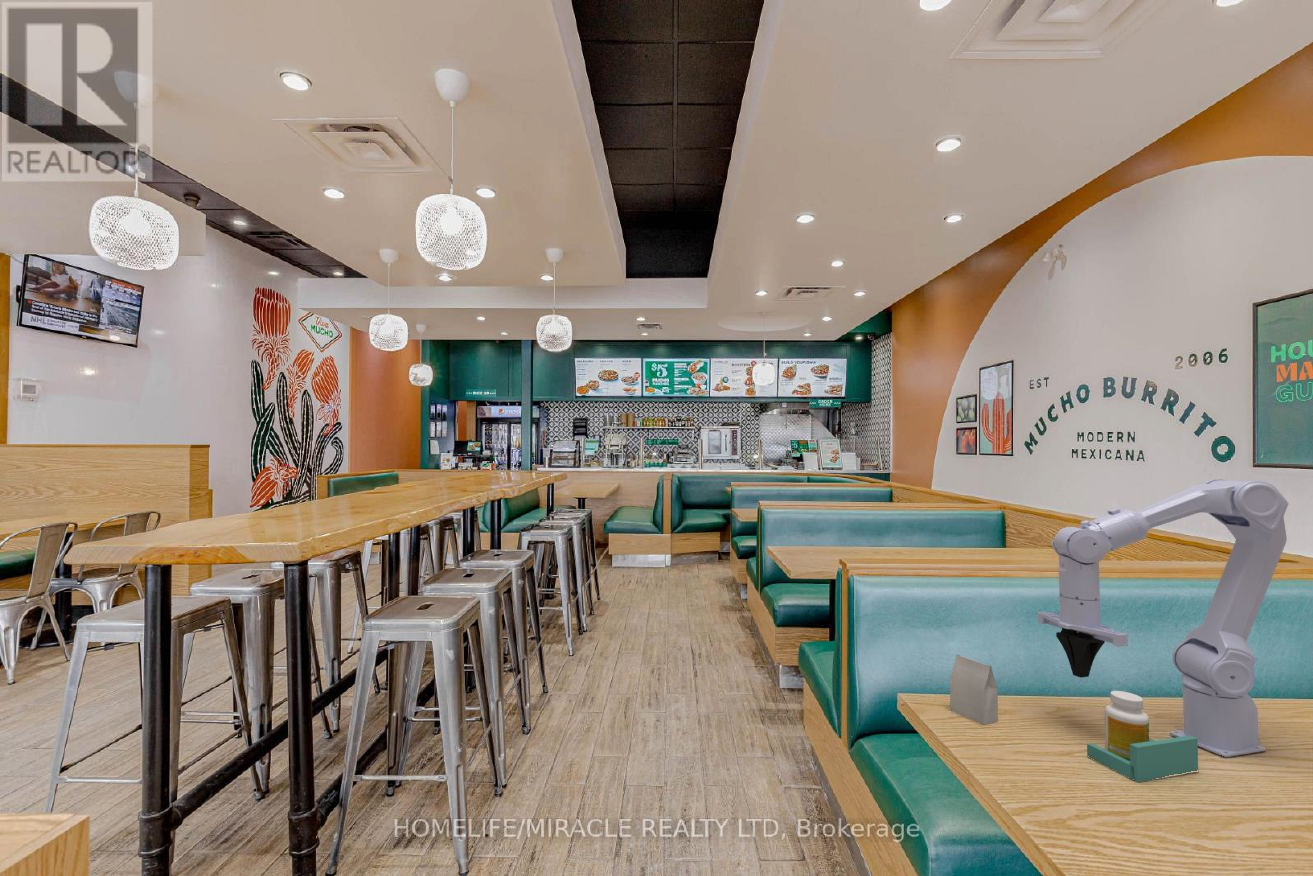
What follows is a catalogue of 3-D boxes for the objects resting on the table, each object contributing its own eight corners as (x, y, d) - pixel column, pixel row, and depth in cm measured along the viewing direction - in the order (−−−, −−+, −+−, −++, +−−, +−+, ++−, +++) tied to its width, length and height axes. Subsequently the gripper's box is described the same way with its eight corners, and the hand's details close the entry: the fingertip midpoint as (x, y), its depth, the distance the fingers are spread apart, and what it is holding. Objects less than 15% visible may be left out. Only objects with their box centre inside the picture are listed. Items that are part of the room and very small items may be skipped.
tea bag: (984, 725, 101) (983, 667, 102) (950, 710, 107) (949, 655, 108) (997, 721, 103) (997, 665, 103) (963, 706, 109) (963, 653, 109)
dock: (1144, 748, 94) (1144, 717, 94) (1198, 772, 86) (1197, 738, 87) (1087, 756, 91) (1086, 724, 91) (1137, 782, 83) (1137, 747, 83)
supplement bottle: (1156, 770, 87) (1155, 705, 87) (1113, 763, 89) (1112, 699, 89) (1140, 753, 92) (1140, 692, 92) (1099, 747, 94) (1099, 686, 94)
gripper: (1024, 589, 106) (1025, 663, 106) (1104, 608, 92) (1105, 694, 92) (1054, 587, 108) (1055, 660, 108) (1136, 606, 94) (1138, 690, 94)
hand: (1080, 675), depth 100 cm, fingers closed
